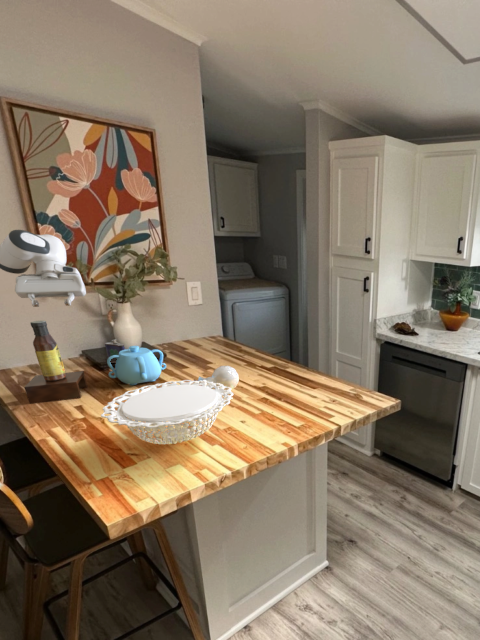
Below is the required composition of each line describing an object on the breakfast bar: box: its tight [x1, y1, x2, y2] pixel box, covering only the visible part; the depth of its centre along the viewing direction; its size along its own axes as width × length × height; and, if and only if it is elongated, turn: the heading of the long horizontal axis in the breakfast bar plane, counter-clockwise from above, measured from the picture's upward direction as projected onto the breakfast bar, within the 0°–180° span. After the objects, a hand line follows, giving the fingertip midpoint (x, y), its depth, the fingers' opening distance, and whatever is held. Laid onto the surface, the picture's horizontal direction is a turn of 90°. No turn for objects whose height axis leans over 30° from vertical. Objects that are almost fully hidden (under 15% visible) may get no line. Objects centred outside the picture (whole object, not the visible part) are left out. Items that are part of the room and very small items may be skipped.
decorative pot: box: [106, 345, 167, 386], centre depth 156 cm, size 16×16×14 cm
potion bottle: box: [193, 365, 240, 391], centre depth 149 cm, size 9×10×15 cm
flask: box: [104, 338, 126, 359], centre depth 173 cm, size 9×3×11 cm, turn 74°
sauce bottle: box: [29, 320, 66, 381], centre depth 137 cm, size 6×6×20 cm
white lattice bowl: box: [100, 379, 235, 446], centre depth 113 cm, size 32×32×13 cm
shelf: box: [23, 370, 88, 405], centre depth 142 cm, size 14×12×6 cm
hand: (51, 305), depth 147 cm, fingers open, 8 cm apart
